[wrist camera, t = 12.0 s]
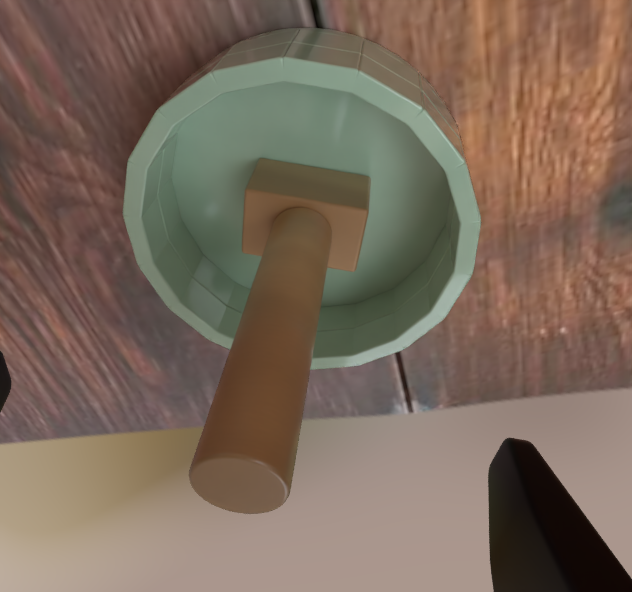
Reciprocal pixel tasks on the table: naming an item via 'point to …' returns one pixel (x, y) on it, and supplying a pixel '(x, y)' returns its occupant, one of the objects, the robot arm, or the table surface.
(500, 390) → the table surface
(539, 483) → the robot arm
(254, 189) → the stirring stick
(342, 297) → the bowl
